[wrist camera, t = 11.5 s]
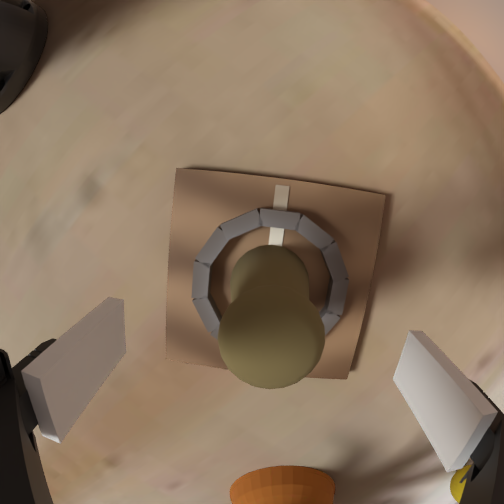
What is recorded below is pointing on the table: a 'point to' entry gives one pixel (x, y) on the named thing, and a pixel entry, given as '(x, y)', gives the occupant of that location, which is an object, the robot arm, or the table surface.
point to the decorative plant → (283, 486)
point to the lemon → (455, 485)
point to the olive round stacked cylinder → (270, 320)
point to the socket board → (259, 234)
